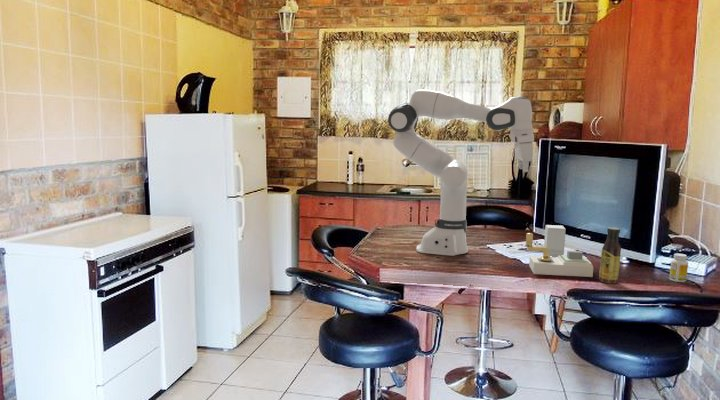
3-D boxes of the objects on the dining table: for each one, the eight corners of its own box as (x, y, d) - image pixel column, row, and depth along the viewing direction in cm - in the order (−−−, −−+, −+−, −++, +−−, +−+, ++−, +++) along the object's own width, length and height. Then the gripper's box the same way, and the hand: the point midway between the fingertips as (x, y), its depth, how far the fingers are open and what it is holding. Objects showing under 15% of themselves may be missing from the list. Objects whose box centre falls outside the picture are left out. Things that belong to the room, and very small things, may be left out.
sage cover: (565, 264, 204) (566, 253, 204) (561, 258, 212) (561, 248, 211) (588, 265, 203) (588, 254, 202) (582, 259, 211) (583, 249, 210)
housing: (533, 273, 205) (534, 261, 204) (529, 266, 216) (530, 253, 215) (592, 276, 202) (593, 263, 201) (584, 268, 213) (585, 256, 212)
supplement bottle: (668, 280, 199) (670, 254, 197) (670, 277, 203) (673, 252, 201) (685, 283, 195) (687, 257, 194) (687, 280, 200) (690, 254, 198)
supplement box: (564, 258, 229) (566, 228, 227) (545, 257, 230) (547, 227, 228) (561, 254, 236) (563, 225, 234) (543, 252, 237) (545, 224, 235)
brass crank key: (525, 260, 208) (527, 234, 207) (524, 257, 212) (525, 232, 211) (552, 261, 207) (553, 235, 205) (550, 259, 211) (551, 233, 209)
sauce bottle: (595, 279, 199) (599, 226, 196) (611, 279, 200) (616, 225, 196) (604, 284, 193) (609, 229, 190) (621, 284, 193) (626, 229, 190)
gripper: (510, 135, 232) (511, 168, 234) (518, 139, 212) (520, 174, 214) (525, 134, 231) (526, 166, 233) (534, 137, 211) (536, 172, 213)
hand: (523, 170), depth 224 cm, fingers open, 8 cm apart
